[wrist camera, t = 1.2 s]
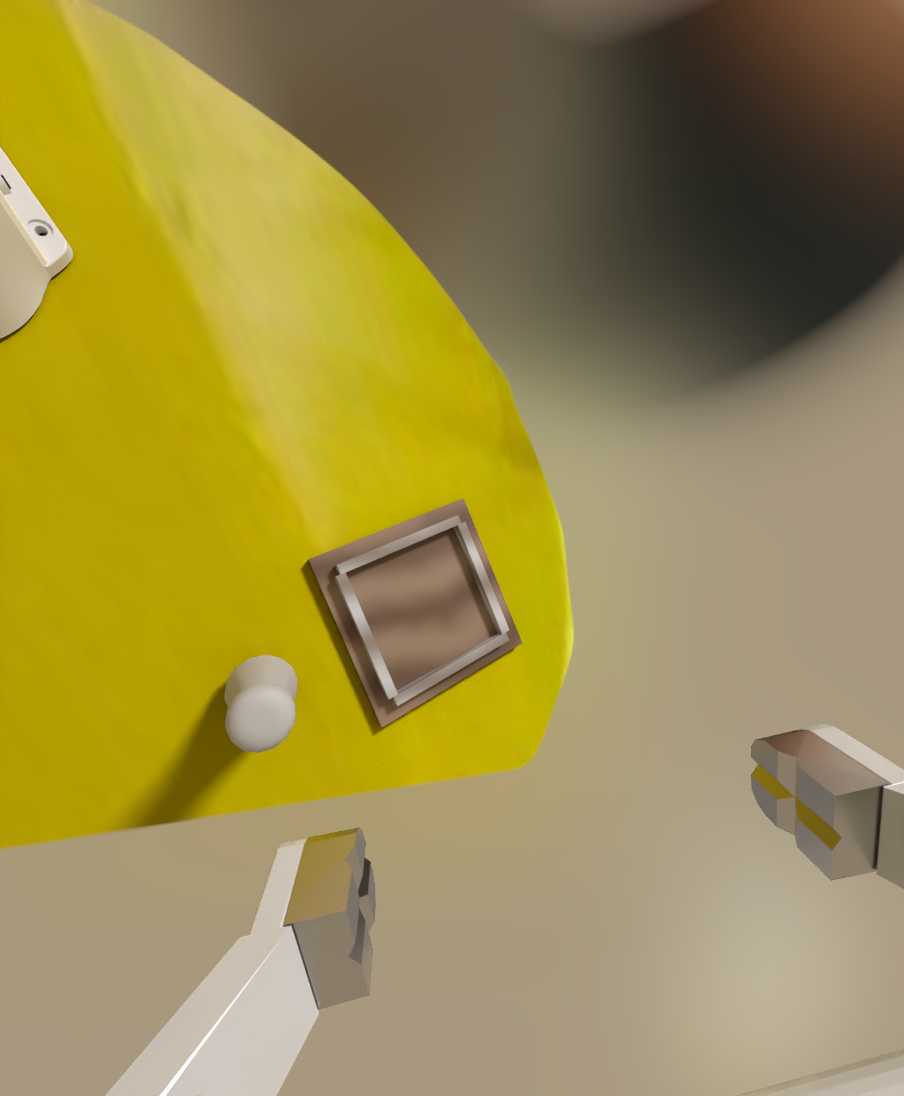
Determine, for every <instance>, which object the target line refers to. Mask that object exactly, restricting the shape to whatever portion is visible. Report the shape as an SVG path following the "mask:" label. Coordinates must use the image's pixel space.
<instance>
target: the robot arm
mask: <svg viewBox="0 0 904 1096" xmlns="http://www.w3.org/2000/svg"><path fill="white" fill-rule="evenodd" d="M40 233H47V235H46V236H40V235H39V234H40ZM72 258H73V251H72V248H71V247H70V245H69V244H68V242H67V241H66V239H65V238H64V236H63V235H62V234H61V232H60V231H59V229H58V228H57V227H56V225H55V224H54V222H53V221H52V219H51V218H50V217H49V215H48V214H47V212H46V211H45V210H44V208H43V207H42V205H41V204H40V202H39V201H38V200H37V198H36V197H35V195H34V194H33V193H32V191H31V190H30V188H29V187H28V185H27V184H26V183H25V181H24V180H23V178H22V177H21V176H20V174H19V173H18V171H17V170H16V168H15V167H14V166H13V164H12V163H11V161H10V160H9V159H8V157H7V156H6V154H5V153H4V152H3V150H2V149H1V147H0V338H3V337H5V336H7V335H9V334H11V333H12V332H14V331H15V330H17V329H18V328H20V327H21V326H22V325H23V324H25V323H26V322H27V321H28V320H29V319H30V318H31V316H32V315H33V314H34V313H35V311H36V310H37V308H38V307H39V305H40V303H41V301H42V298H43V295H44V292H45V290H46V287H47V285H48V282H49V281H50V279H51V278H52V277H53V276H55V275H56V274H57V273H58V272H60V271H61V270H62V269H63V268H65V267H66V266H67V265H68V264H69V263H70V261H71V260H72ZM751 757H752V758H753V759H754V761H755V762H756V763H757V764H758V765H757V767H756V768H755V770H754V771H753V773H752V775H751V785H752V791H753V793H754V796H755V798H756V801H757V803H758V805H759V806H760V808H761V809H762V811H763V812H764V813H765V815H766V816H767V817H768V818H769V819H770V820H771V821H772V822H773V823H774V824H775V825H776V826H777V827H778V828H780V829H783V830H785V831H787V832H789V833H791V834H793V835H795V840H796V843H797V847H798V848H799V849H800V850H801V851H802V852H803V853H804V854H805V855H806V856H807V857H808V858H809V859H810V860H811V861H812V862H813V863H814V864H815V865H816V866H817V867H818V868H819V869H820V870H821V871H822V872H823V873H824V874H825V875H826V876H827V877H828V878H829V879H830V880H836V879H841V878H846V877H850V876H855V875H860V874H865V873H869V872H874V871H877V875H879V876H881V877H883V878H885V879H887V880H888V881H890V882H892V883H894V884H896V885H897V886H899V887H901V888H903V889H904V770H903V769H901V768H900V767H898V766H897V765H895V764H893V763H892V762H890V761H889V760H887V759H885V758H884V757H882V756H881V755H879V754H877V753H876V752H874V751H873V750H871V749H869V748H868V747H866V746H865V745H863V744H861V743H860V742H858V741H857V740H855V739H853V738H852V737H850V736H849V735H847V734H845V733H844V732H842V731H841V730H839V729H837V728H836V727H834V726H831V725H827V724H819V725H816V726H811V727H807V728H803V729H800V730H795V731H791V732H786V733H782V734H778V735H773V736H769V737H765V738H761V739H756V740H754V742H753V744H752V746H751ZM365 847H366V842H365V838H364V835H363V831H362V829H360V828H355V829H350V830H344V831H339V832H334V833H329V834H324V835H318V836H313V837H309V838H307V839H302V840H297V841H291V842H285V843H282V844H281V846H280V847H279V849H278V850H277V852H276V855H275V858H274V861H273V864H272V867H271V870H270V873H269V876H268V879H267V882H266V885H265V888H264V891H263V894H262V897H261V900H260V903H259V906H258V909H257V912H256V915H255V918H254V921H253V924H252V927H251V930H250V933H249V935H247V936H243V937H240V938H239V939H238V940H237V941H236V943H235V944H234V945H233V946H232V947H231V948H230V950H229V951H228V952H227V953H226V954H225V956H224V957H223V958H222V959H221V960H220V961H219V963H218V964H217V965H216V966H215V967H214V969H213V970H212V971H211V972H210V973H209V974H208V976H207V977H206V978H205V979H204V980H203V981H202V983H201V984H200V985H199V986H198V987H197V989H196V990H195V991H194V992H193V993H192V994H191V996H190V997H189V998H188V999H187V1000H186V1001H185V1003H184V1004H183V1005H182V1006H181V1007H180V1008H179V1010H178V1011H177V1012H176V1013H175V1014H174V1016H173V1017H172V1018H171V1019H170V1020H169V1022H168V1023H167V1024H166V1025H165V1026H164V1028H163V1029H162V1030H161V1031H160V1032H159V1033H158V1034H157V1036H156V1037H155V1038H154V1039H153V1040H152V1042H151V1043H150V1044H149V1045H148V1046H147V1047H146V1049H145V1050H144V1051H143V1052H142V1053H141V1054H140V1056H139V1057H138V1058H137V1059H136V1060H135V1061H134V1063H133V1064H132V1065H131V1066H130V1067H129V1069H128V1070H127V1071H126V1072H125V1073H124V1074H123V1076H122V1077H121V1078H120V1079H119V1080H118V1082H117V1083H116V1084H115V1085H114V1086H113V1087H112V1089H111V1090H110V1091H109V1092H108V1093H107V1094H106V1096H276V1095H277V1094H278V1092H279V1090H280V1088H281V1086H282V1084H283V1082H284V1080H285V1078H286V1076H287V1074H288V1072H289V1070H290V1068H291V1066H292V1064H293V1063H294V1061H295V1059H296V1057H297V1055H298V1053H299V1051H300V1049H301V1047H302V1045H303V1043H304V1041H305V1039H306V1037H307V1035H308V1033H309V1032H310V1030H311V1028H312V1026H313V1024H314V1022H315V1020H316V1018H317V1016H318V1014H319V1012H318V1009H322V1008H325V1007H329V1006H333V1005H336V1004H340V1003H343V1002H346V1001H350V1000H354V999H357V998H360V997H364V996H367V995H369V994H370V981H371V967H372V954H373V948H372V944H371V940H370V936H369V933H368V932H369V930H370V929H371V927H372V926H373V924H374V922H375V907H376V901H375V883H374V876H373V870H372V866H371V862H370V861H369V860H368V859H366V858H365V857H364V856H365ZM737 1096H904V1049H902V1050H898V1051H895V1052H891V1053H888V1054H884V1055H880V1056H877V1057H874V1058H870V1059H866V1060H862V1061H859V1062H856V1063H852V1064H848V1065H845V1066H841V1067H837V1068H834V1069H830V1070H827V1071H823V1072H819V1073H816V1074H812V1075H809V1076H805V1077H802V1078H798V1079H794V1080H791V1081H787V1082H784V1083H780V1084H776V1085H773V1086H769V1087H766V1088H762V1089H759V1090H755V1091H751V1092H748V1093H744V1094H741V1095H737Z"/></svg>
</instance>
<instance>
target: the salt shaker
mask: <svg viewBox="0 0 904 1096" xmlns="http://www.w3.org/2000/svg"><path fill="white" fill-rule="evenodd" d="M297 685H298V680H297V678H296V675H295V672H294V670H293V667H291V666H290V665H289V664H288V663H286V662H285V661H284V660H283V659H282V658H278V657H274V656H269V655H262V656H258V657H253V658H249V659H248V660H246V661H245V662H243V663H242V664H240V665H239V666H237V667H236V668H235V669H234V671H233V672H232V674H231V675H230V677H229V679H228V680H227V682H226V688H225V695H224V700H225V702H226V704H227V707H228V710H227V713H226V721H225V728H226V730H227V733H228V735H229V737H230V740H231V742H232V743H234V744H235V745H236V746H237V747H239V748H240V749H241V750H243V751H249V752H257V753H259V752H262V751H266V750H269V749H273V748H274V747H276V746H277V745H278V744H279V743H280V742H282V741H283V740H284V739H285V738H286V737H287V735H288V734H289V732H290V730H291V728H292V727H293V725H294V723H295V713H296V707H295V704H294V702H293V701H294V700H295V698H296V696H297Z"/></svg>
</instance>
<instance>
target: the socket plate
mask: <svg viewBox="0 0 904 1096" xmlns="http://www.w3.org/2000/svg"><path fill="white" fill-rule="evenodd" d="M308 562H309V564H310V566H311V569H312V571H313V573H314V576H315V578H316V580H317V582H318V585H319V587H320V589H321V592H322V594H323V596H324V599H325V601H326V603H327V605H328V608H329V610H330V612H331V615H332V617H333V619H334V621H335V624H336V626H337V628H338V631H339V633H340V635H341V638H342V640H343V642H344V644H345V647H346V649H347V651H348V654H349V656H350V658H351V660H352V663H353V665H354V667H355V670H356V672H357V674H358V676H359V679H360V681H361V683H362V686H363V688H364V690H365V693H366V695H367V697H368V699H369V702H370V704H371V706H372V709H373V711H374V713H375V715H376V718H377V720H378V722H379V725H380V726H381V727H384V726H386V725H387V724H389V723H391V722H392V721H394V720H396V719H397V718H399V717H401V716H402V715H404V714H405V713H407V712H409V711H410V710H412V709H414V708H415V707H417V706H419V705H420V704H422V703H424V702H425V701H427V700H429V699H430V698H432V697H434V696H435V695H437V694H439V693H440V692H442V691H444V690H445V689H447V688H449V687H450V686H452V685H454V684H455V683H457V682H459V681H460V680H462V679H464V678H465V677H467V676H468V675H470V674H472V673H473V672H475V671H477V670H478V669H480V668H482V667H483V666H485V665H487V664H488V663H490V662H492V661H493V660H495V659H497V658H498V657H500V656H502V655H503V654H505V653H507V652H508V651H510V650H512V649H513V648H515V647H517V646H518V645H520V644H522V641H521V639H520V636H519V634H518V632H517V629H516V627H515V624H514V622H513V619H512V617H511V614H510V612H509V609H508V607H507V605H506V602H505V600H504V597H503V595H502V592H501V590H500V587H499V585H498V582H497V580H496V577H495V575H494V573H493V570H492V568H491V565H490V563H489V560H488V558H487V555H486V553H485V550H484V548H483V545H482V543H481V541H480V538H479V536H478V533H477V531H476V528H475V526H474V523H473V521H472V518H471V516H470V513H469V511H468V509H467V506H466V504H465V501H464V499H461V500H458V501H456V502H453V503H450V504H448V505H445V506H443V507H440V508H438V509H435V510H433V511H430V512H428V513H425V514H423V515H420V516H418V517H415V518H412V519H410V520H407V521H405V522H402V523H400V524H397V525H395V526H392V527H390V528H387V529H385V530H382V531H379V532H377V533H374V534H372V535H369V536H367V537H364V538H362V539H359V540H357V541H354V542H352V543H349V544H346V545H344V546H341V547H339V548H336V549H334V550H331V551H329V552H326V553H324V554H321V555H319V556H316V557H314V558H311V559H309V560H308Z"/></svg>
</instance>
